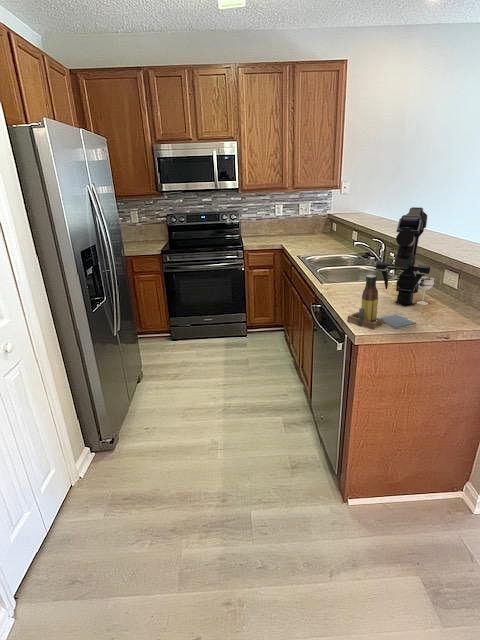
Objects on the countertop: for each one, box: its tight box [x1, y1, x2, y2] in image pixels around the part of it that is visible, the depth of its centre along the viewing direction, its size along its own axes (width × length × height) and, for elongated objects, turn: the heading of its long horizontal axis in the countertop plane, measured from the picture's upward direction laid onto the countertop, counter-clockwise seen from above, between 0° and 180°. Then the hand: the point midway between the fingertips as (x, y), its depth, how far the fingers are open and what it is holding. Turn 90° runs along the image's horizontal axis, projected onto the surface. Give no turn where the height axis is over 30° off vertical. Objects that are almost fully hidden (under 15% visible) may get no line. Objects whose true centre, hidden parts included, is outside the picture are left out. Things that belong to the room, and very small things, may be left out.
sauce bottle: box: [361, 274, 379, 322], centre depth 150 cm, size 6×6×20 cm
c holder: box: [346, 308, 384, 330], centre depth 151 cm, size 8×12×7 cm, turn 41°
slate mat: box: [376, 313, 417, 329], centre depth 153 cm, size 11×11×1 cm
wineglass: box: [416, 275, 435, 306], centre depth 171 cm, size 7×7×12 cm
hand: (399, 290), depth 141 cm, fingers open, 9 cm apart
